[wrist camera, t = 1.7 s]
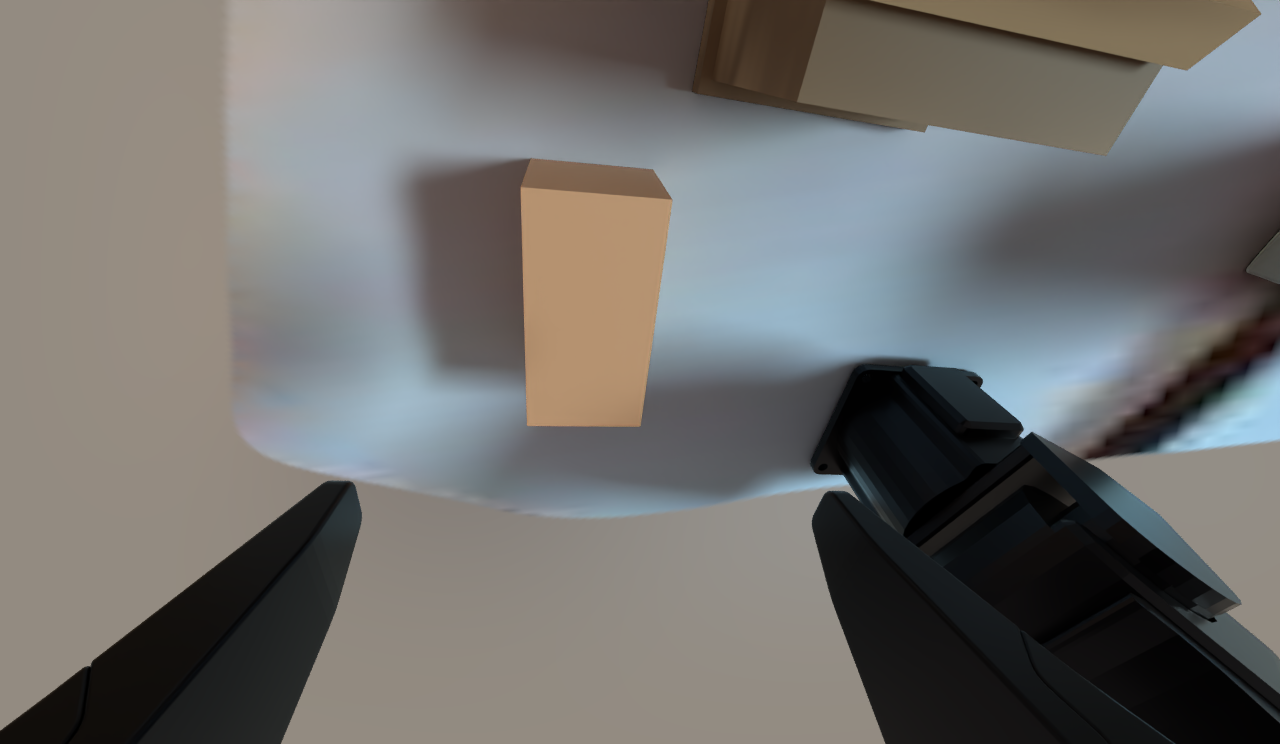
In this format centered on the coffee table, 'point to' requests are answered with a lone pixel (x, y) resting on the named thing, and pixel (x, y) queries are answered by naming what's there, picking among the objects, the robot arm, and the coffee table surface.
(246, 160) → the coffee table surface
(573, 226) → the peg
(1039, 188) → the coffee table surface
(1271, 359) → the coffee table surface
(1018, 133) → the cradle
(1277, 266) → the skincare box
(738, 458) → the coffee table surface
